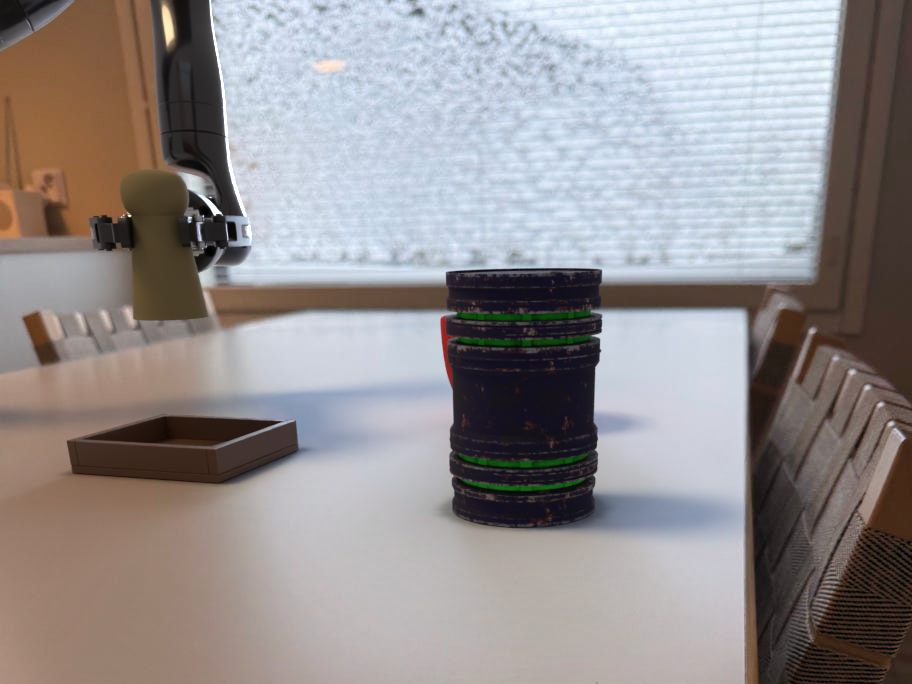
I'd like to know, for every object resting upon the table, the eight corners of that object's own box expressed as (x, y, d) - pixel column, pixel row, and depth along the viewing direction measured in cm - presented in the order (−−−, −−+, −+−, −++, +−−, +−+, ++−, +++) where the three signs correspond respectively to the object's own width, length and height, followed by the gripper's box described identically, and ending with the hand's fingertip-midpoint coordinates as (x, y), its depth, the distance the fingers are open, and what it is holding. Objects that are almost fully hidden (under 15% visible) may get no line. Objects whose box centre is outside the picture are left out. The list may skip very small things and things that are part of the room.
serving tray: (72, 473, 76) (66, 440, 75) (166, 442, 87) (162, 413, 86) (219, 483, 72) (214, 449, 71) (299, 450, 83) (296, 420, 82)
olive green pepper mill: (118, 320, 77) (94, 168, 73) (158, 313, 83) (138, 172, 78) (186, 321, 76) (166, 166, 71) (221, 314, 81) (205, 170, 77)
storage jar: (421, 506, 65) (411, 272, 59) (526, 482, 71) (527, 267, 65) (518, 537, 58) (518, 275, 52) (627, 508, 64) (638, 269, 58)
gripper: (96, 188, 87) (49, 179, 72) (255, 187, 89) (242, 178, 73) (110, 276, 90) (67, 286, 74) (263, 273, 92) (253, 282, 76)
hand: (154, 232), depth 74 cm, fingers closed on olive green pepper mill, 4 cm apart
